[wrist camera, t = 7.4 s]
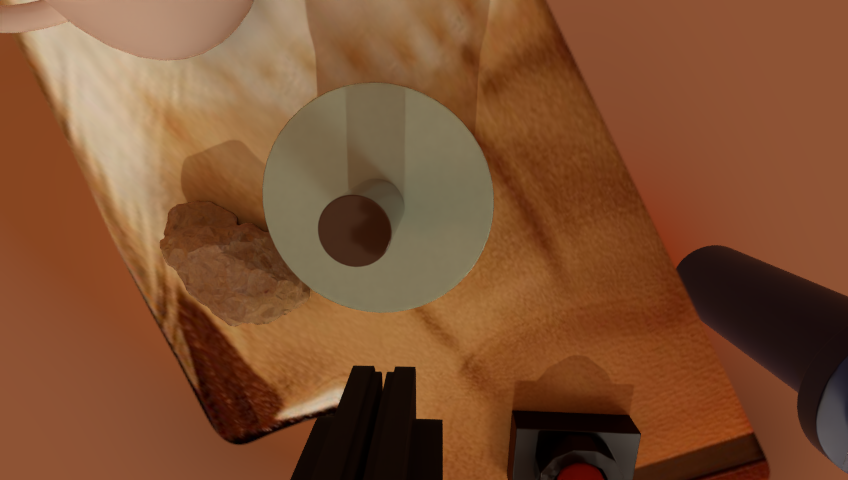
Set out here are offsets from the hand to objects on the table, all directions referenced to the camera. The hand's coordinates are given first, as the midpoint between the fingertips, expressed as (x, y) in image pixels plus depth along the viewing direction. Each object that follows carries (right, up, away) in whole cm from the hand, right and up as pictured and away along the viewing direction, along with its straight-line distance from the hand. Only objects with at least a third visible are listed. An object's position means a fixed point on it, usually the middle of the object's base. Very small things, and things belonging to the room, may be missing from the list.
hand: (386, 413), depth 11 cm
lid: (-2, +7, +11) cm, 13 cm away
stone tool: (-13, +3, +22) cm, 25 cm away
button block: (+14, -14, +25) cm, 31 cm away
